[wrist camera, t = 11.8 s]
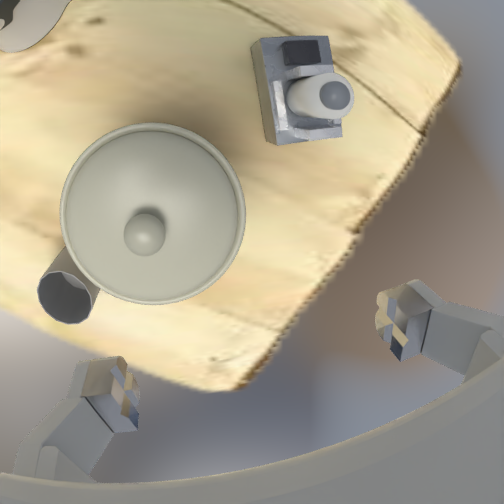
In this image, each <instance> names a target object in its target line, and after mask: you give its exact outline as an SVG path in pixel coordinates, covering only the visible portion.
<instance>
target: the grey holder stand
mask: <svg viewBox="0 0 504 504" xmlns="http://www.w3.org/2000/svg"><path fill="white" fill-rule="evenodd" d="M251 54H252V59H253V65H254V71H255V77H256V83H257V89H258V95H259V101H260V107H261V113H262V119H263V125H264V132H265V138H266V142H269V143H272V144H275V145H277V146H278V145H284V144H291V143H297V142H304V141H313V140H320V139H328V138H337V137H342V128H341V123H342V122H341V118H339V119H325V118H310V117H301V116H298V115H296V114H295V113H294V112H292V111H291V109H290V108H289V106H288V104H287V100H286V94H287V90H288V88H289V87H290V85H291V84H292V83H294V82H295V81H297V80H300V79H304V78H308V77H312V76H316V75H320V74H324V73H334V68H333V61H332V55H331V50H330V44H329V38H328V36H288V37H271V38H260V39H259V40H258V41H257V42H256V43H255V44H254V45H253V46H252V47H251Z"/></svg>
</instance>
